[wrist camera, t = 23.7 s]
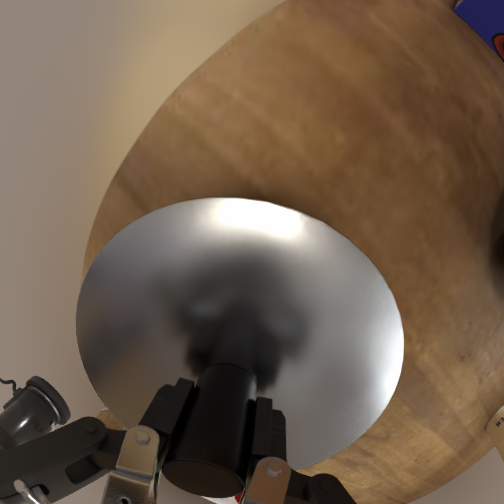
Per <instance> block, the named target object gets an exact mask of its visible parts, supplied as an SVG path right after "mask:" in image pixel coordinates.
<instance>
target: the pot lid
mask: <svg viewBox="0 0 504 504" xmlns="http://www.w3.org/2000/svg"><path fill="white" fill-rule="evenodd" d="M76 335H77V342H78V347H79V352H80V356H81V359H82V362H83V365H84V368H85V371H86V373H87V375H88V377H89V380H90V382H91V384H92V385H93V387H94V389H95V391H96V392H97V394H98V396H99V397H100V399H101V400H102V402H103V403H104V404H105V406H106V407H107V408H108V410H109V411H110V412H111V413H112V414H113V415H114V416H115V418H116V419H117V420H118V421H119V422H120V423H121V424H122V425H123V426H124V427H125V428H127V429H129V428H131V427H133V426H137V425H138V424H139V422H140V420H141V419H142V417H143V415H144V413H145V412H146V410H147V408H148V407H149V405H150V403H151V401H152V400H153V398H154V397H155V394H156V393H157V391H158V389H159V388H161V387H162V386H164V385H165V384H169V385H172V386H175V385H176V383H177V381H178V379H179V377H181V378H184V379H188V380H191V381H195V385H194V390H193V392H192V395H191V397H190V400H189V402H188V404H187V407H186V409H185V412H184V414H183V416H182V419H181V421H180V424H179V426H178V428H177V431H176V433H175V436H174V438H173V440H172V443H171V445H170V448H169V450H168V452H167V455H166V457H165V460H164V462H163V464H162V468H161V469H162V473H163V475H164V476H165V478H166V479H167V480H169V482H171V483H172V484H174V485H175V486H177V487H178V488H180V489H182V490H185V491H187V492H189V493H192V494H196V495H199V496H204V497H211V498H227V497H232V496H236V495H238V494H240V493H241V492H242V491H243V490H244V489H245V485H246V477H247V469H248V458H249V450H250V442H251V433H252V424H253V415H254V406H255V400H256V397H257V396H260V397H265V398H271V399H273V407H272V409H275V410H281V411H282V413H283V414H284V416H285V418H286V453H287V462H288V464H289V466H290V467H291V468H292V469H293V470H298V469H301V468H305V467H308V466H311V465H313V464H316V463H318V462H321V461H323V460H325V459H327V458H329V457H331V456H333V455H335V454H337V453H339V452H340V451H342V450H343V449H345V448H346V447H348V446H349V445H351V444H352V443H354V442H355V441H356V440H357V439H358V438H359V437H361V436H362V435H363V434H364V433H365V432H366V431H367V430H368V429H369V428H370V427H371V426H372V425H373V424H374V423H375V421H376V420H377V419H378V418H379V416H380V415H381V414H382V412H383V411H384V409H385V408H386V406H387V405H388V403H389V401H390V399H391V397H392V395H393V393H394V391H395V389H396V386H397V383H398V380H399V377H400V374H401V369H402V363H403V357H404V333H403V327H402V321H401V315H400V312H399V309H398V306H397V304H396V301H395V298H394V295H393V293H392V292H391V290H390V288H389V286H388V284H387V282H386V281H385V279H384V277H383V275H382V274H381V273H380V271H379V270H378V269H377V268H376V266H375V265H374V264H373V263H372V261H371V260H370V259H369V258H368V256H367V255H366V254H365V253H364V252H362V251H361V250H360V249H359V248H358V247H357V246H356V245H355V244H354V243H353V242H351V241H350V240H349V239H348V238H347V237H345V236H344V235H342V234H341V233H339V232H338V231H336V230H335V229H333V228H332V227H330V226H329V225H327V224H326V223H324V222H322V221H320V220H318V219H316V218H314V217H312V216H309V215H307V214H305V213H303V212H301V211H298V210H296V209H293V208H290V207H286V206H283V205H280V204H276V203H273V202H269V201H264V200H257V199H250V198H243V197H206V198H199V199H193V200H186V201H181V202H177V203H174V204H171V205H168V206H165V207H162V208H159V209H156V210H154V211H152V212H150V213H148V214H146V215H144V216H142V217H140V218H138V219H136V220H134V221H133V222H132V223H130V224H129V225H127V226H126V227H125V228H123V229H122V230H121V231H119V232H118V233H117V234H116V235H115V236H114V237H113V238H112V239H111V240H110V241H109V242H108V243H107V244H106V245H105V246H104V247H103V248H102V249H101V251H100V252H99V254H98V255H97V257H96V258H95V260H94V261H93V263H92V264H91V266H90V268H89V270H88V272H87V274H86V276H85V279H84V281H83V283H82V287H81V290H80V294H79V298H78V303H77V312H76Z"/></svg>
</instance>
